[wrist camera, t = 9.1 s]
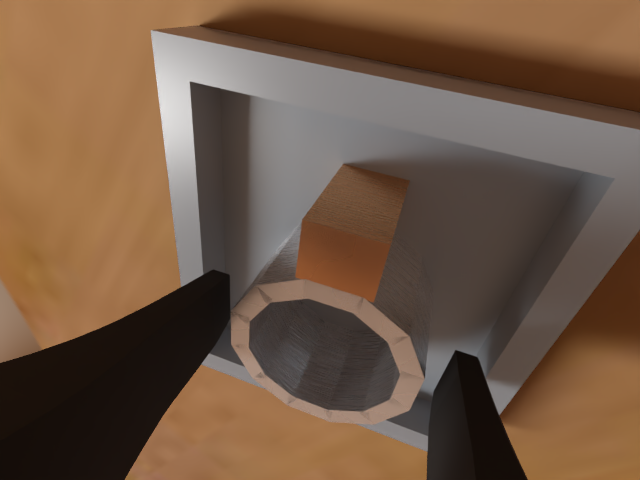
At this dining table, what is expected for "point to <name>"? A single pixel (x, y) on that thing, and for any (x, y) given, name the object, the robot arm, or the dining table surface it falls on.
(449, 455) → the robot arm
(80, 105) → the dining table surface
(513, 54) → the dining table surface
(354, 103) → the tray
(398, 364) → the ring
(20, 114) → the dining table surface
